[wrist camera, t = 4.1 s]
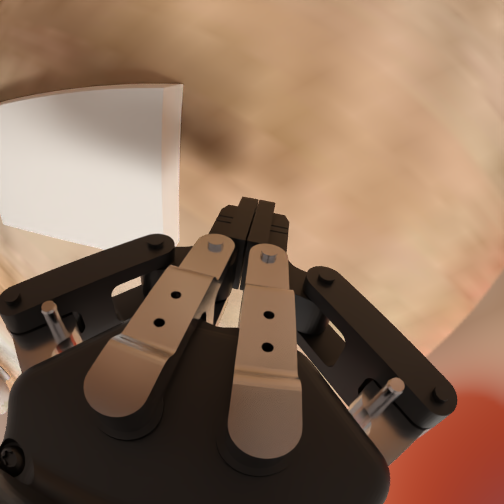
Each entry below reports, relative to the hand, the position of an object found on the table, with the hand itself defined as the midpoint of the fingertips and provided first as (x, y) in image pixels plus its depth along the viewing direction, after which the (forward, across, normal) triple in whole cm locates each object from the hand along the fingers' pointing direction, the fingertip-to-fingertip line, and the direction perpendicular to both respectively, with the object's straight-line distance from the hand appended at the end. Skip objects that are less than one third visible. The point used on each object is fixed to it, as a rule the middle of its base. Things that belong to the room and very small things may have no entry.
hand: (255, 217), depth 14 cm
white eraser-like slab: (+4, +13, 0) cm, 13 cm away
